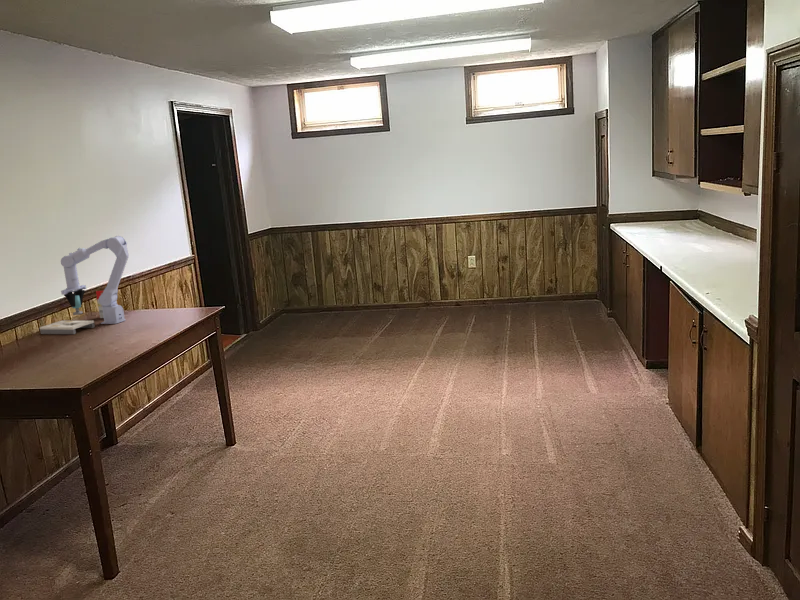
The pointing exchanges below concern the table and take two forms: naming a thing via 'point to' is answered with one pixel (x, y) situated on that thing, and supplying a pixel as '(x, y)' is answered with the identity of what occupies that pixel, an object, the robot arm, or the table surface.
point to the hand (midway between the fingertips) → (76, 305)
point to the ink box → (100, 304)
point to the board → (65, 327)
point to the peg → (77, 305)
